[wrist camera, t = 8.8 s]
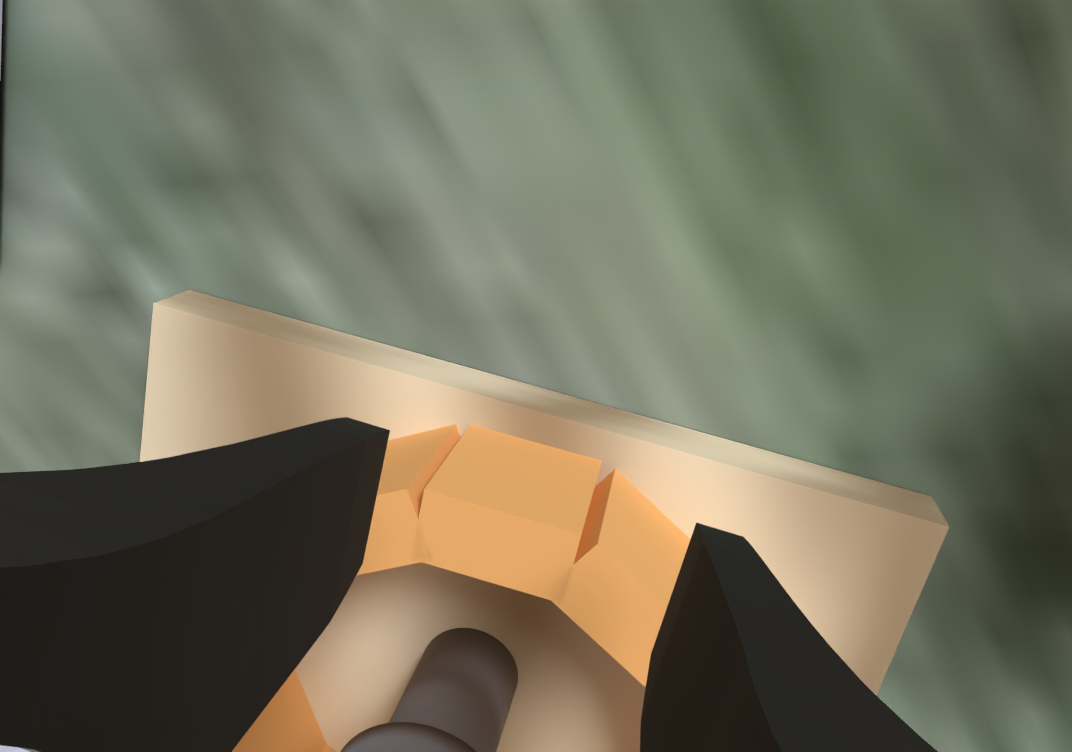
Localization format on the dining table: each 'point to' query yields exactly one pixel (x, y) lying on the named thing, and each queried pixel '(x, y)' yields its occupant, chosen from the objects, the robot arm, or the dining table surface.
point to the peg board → (496, 611)
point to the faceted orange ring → (511, 546)
